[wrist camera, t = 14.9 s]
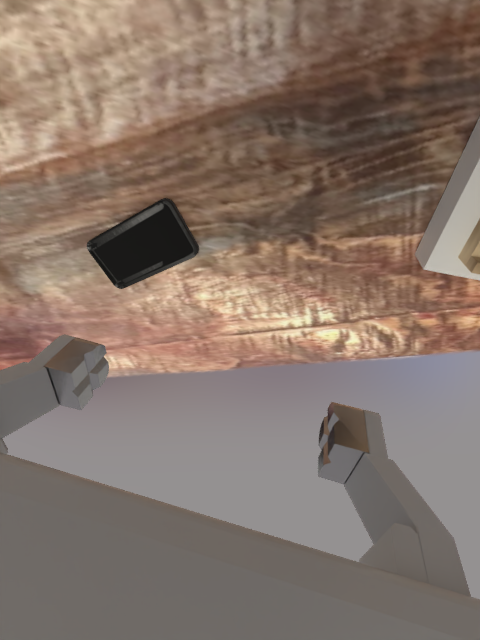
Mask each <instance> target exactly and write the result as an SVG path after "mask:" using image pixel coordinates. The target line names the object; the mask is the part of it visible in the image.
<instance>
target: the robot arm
mask: <svg viewBox="0 0 480 640" xmlns="http://www.w3.org/2000/svg"><path fill="white" fill-rule="evenodd" d="M105 354H106V349H105V346H104V345H102V344H98V343H95V342H91V341H87V340H84V339H80V338H76V337H72V336H69V335H61V336H59V337H58V338H57V339H56V340H55V341H53V342H52V343H51V344H50V345H49V346H48V347H46V348H45V349H44V350H43V351H42V352H41V353H39V354H38V355H37V356H36V357H35V358H34V359H32V360H31V361H30V362H29V363H27V362H23V363H20V364H17V365H14V366H11V367H9V368H6V369H3V370H0V640H480V599H476V598H473V597H471V595H470V592H469V588H468V585H467V581H466V578H465V575H464V571H463V568H462V564H461V561H460V557H459V554H458V551H457V547H456V544H455V541H454V538H453V537H452V535H451V534H450V533H449V532H448V530H447V529H446V528H445V526H444V525H443V524H442V522H440V520H439V519H438V517H437V516H436V515H435V514H434V512H433V511H432V510H431V508H430V507H429V506H428V505H427V503H426V502H425V501H424V499H423V498H422V497H421V496H420V494H419V493H418V492H417V490H416V489H415V488H414V487H413V485H412V484H411V483H410V481H409V480H408V479H407V478H406V476H405V475H404V474H403V473H402V471H401V470H400V469H399V467H398V466H397V465H396V463H395V462H394V461H393V460H390V459H388V455H387V450H386V444H385V439H384V433H383V428H382V422H381V417H380V415H379V413H375V412H371V411H366V410H362V409H359V408H354V407H351V406H346V405H342V404H338V403H334V402H331V404H330V405H329V407H328V416H327V417H324V419H323V422H322V424H321V428H320V434H319V447H320V448H321V450H322V451H321V453H320V455H319V457H318V476H319V477H322V478H325V479H328V480H332V481H335V482H338V483H341V484H344V487H345V489H346V490H347V492H348V494H349V496H350V498H351V500H352V502H353V504H354V506H355V508H356V510H357V512H358V514H359V516H360V518H361V520H362V522H363V524H364V526H365V528H366V530H367V532H368V534H369V536H370V538H371V540H372V542H373V544H374V545H373V546H372V547H371V548H370V549H369V550H368V551H367V552H366V553H365V554H364V555H363V557H362V558H361V559H360V560H359V562H356V561H353V560H349V559H346V558H343V557H340V556H336V555H333V554H329V553H326V552H323V551H320V550H317V549H313V548H309V547H307V546H304V545H300V544H297V543H294V542H291V541H287V540H284V539H281V538H278V537H274V536H271V535H268V534H264V533H261V532H258V531H255V530H252V529H248V528H245V527H242V526H239V525H235V524H232V523H229V522H226V521H222V520H219V519H216V518H213V517H209V516H206V515H203V514H200V513H196V512H193V511H190V510H187V509H183V508H180V507H177V506H173V505H170V504H167V503H164V502H161V501H157V500H154V499H151V498H148V497H144V496H141V495H138V494H134V493H131V492H128V491H125V490H122V489H118V488H115V487H112V486H108V485H105V484H102V483H99V482H95V481H92V480H89V479H85V478H82V477H79V476H76V475H72V474H69V473H66V472H63V471H60V470H56V469H53V468H50V467H47V466H43V465H40V464H37V463H33V462H30V461H27V460H24V459H20V458H17V457H14V456H11V455H7V453H8V448H7V447H6V445H5V443H4V441H3V439H2V438H3V437H5V436H7V435H9V434H11V433H12V432H14V431H16V430H18V429H19V428H21V427H23V426H25V425H26V424H28V423H29V422H32V421H33V420H35V419H37V418H39V417H40V416H42V415H44V414H46V413H47V412H49V411H51V410H53V409H54V408H56V407H58V406H59V405H63V406H67V407H71V408H75V409H79V410H82V409H83V408H84V406H85V405H86V404H87V403H88V401H89V400H90V399H91V398H92V396H93V390H94V389H96V388H99V387H101V385H102V384H103V383H104V381H105V380H106V377H107V375H108V371H109V365H108V361H107V360H106V359H105V358H104V357H103V356H104V355H105Z"/></svg>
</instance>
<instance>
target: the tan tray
mask: <svg viewBox="0 0 480 640" xmlns="http://www.w3.org/2000/svg"><path fill="white" fill-rule="evenodd" d="M458 258H459V259H460V260H461V262H462V263H463V264H464V265H465V266H466V267H467V268H468V270H469V271H470V272H471V273H475V274H480V219H479V221H478V222H477V224H476V226H475V228H474V230H473V231H472V233H471V235H470V237H469V238H468V240H467V242H466V244H465V246H464V247H463V249H462V251H461V253H460V254H459V256H458Z"/></svg>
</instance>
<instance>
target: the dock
mask: <svg viewBox="0 0 480 640" xmlns="http://www.w3.org/2000/svg"><path fill="white" fill-rule="evenodd" d="M479 219H480V117H479V119H478V121H477V123H476V126H475V128H474V130H473V132H472V134H471V136H470V138H469V140H468V142H467V145H466V147H465V149H464V151H463V153H462V155H461V157H460V159H459V161H458V164H457V166H456V168H455V170H454V172H453V174H452V176H451V178H450V181H449V183H448V185H447V187H446V189H445V191H444V193H443V195H442V197H441V200H440V202H439V204H438V206H437V208H436V210H435V212H434V214H433V216H432V219H431V221H430V223H429V225H428V227H427V229H426V231H425V233H424V236H423V238H422V240H421V242H420V244H419V246H418V248H417V250H416V252H415V256H416V257H417V259H418V261H419V262H420V264H421V266H422V268H423V269H424V270H429V271H434V272H440V273H445V274H450V275H455V276H460V277H465V278H470V279H476V280H480V274H475V273H471V272H470V271H469V270H468V268H467V267H466V266H465V265H464V264H463V263H462V262H461V260H460V259H459V258H458V256H459V254H460V253H461V251H462V249H463V247H464V246H465V244H466V242H467V240H468V238H469V237H470V235H471V233H472V231H473V230H474V228H475V226H476V224H477V222H478V221H479Z"/></svg>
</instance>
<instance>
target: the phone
mask: <svg viewBox="0 0 480 640" xmlns="http://www.w3.org/2000/svg"><path fill="white" fill-rule="evenodd" d="M184 224H185V225H184ZM185 226H186V227H185ZM187 229H188V230H187ZM194 240H195V239H194V237H193V235H192V234H191V232H190V230H189V228H188V227H187V225H186V223H185V221H184V220H183V218H182V216H181V214H180V213H179V211H178V209H177V207H176V206H175V204H174V203H173V202H172V201H171V200H170V199H165V198H164V199H162V200H160V201H158V202H156V203H155V204H153V205H151V206H149V207H148V208H146V209H144V210H142V211H141V212H139V213H137V214H135V215H134V216H132V217H130V218H128V219H127V220H125V221H123V222H121V223H120V224H118V225H116V226H114V227H113V228H111V229H109V230H107V231H106V232H104V233H102V234H100V235H99V236H97V237H95V238H93V239H92V240H90V241H89V242H88V243H87V249H88V251H89V252H90V254H91V255H92V256H93V258H94V259H95V260H96V262H97V263H98V264H99V266H100V267H101V268H102V270H103V271H104V272H105V274H106V275H107V276H108V278H109V279H110V280H111V282H112V283H113V284H114V286H116V287H117V288H119V289H123V288H126V287H128V286H130V285H132V284H135V283H137V282H139V281H141V280H144V279H146V278H148V277H150V276H153V275H155V274H157V273H159V272H162V271H164V270H166V269H168V268H171V267H173V266H175V265H177V264H180V263H182V262H184V261H186V260H189V259H191V258H193V257H195V256H196V254H197V253H198V251H199V247H198V244H197V242H196V241H194Z"/></svg>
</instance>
